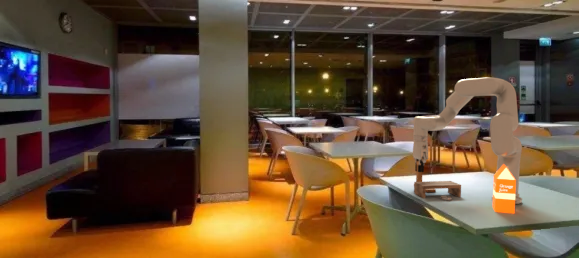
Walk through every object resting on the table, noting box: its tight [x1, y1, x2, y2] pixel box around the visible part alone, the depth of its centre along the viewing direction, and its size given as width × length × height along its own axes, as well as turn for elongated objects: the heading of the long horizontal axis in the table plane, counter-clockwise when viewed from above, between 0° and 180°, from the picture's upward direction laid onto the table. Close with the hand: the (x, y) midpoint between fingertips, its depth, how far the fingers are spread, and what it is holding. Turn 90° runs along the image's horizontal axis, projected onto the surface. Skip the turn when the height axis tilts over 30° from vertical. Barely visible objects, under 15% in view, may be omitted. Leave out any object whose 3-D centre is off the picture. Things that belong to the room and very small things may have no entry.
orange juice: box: [491, 164, 516, 215], centre depth 178 cm, size 8×9×20 cm
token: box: [440, 195, 452, 202], centre depth 198 cm, size 5×5×2 cm
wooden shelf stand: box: [413, 180, 462, 199], centre depth 206 cm, size 10×20×6 cm, turn 98°
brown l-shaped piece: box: [415, 161, 437, 193], centre depth 219 cm, size 15×5×14 cm, turn 8°
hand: (419, 171), depth 225 cm, fingers closed on brown l-shaped piece
